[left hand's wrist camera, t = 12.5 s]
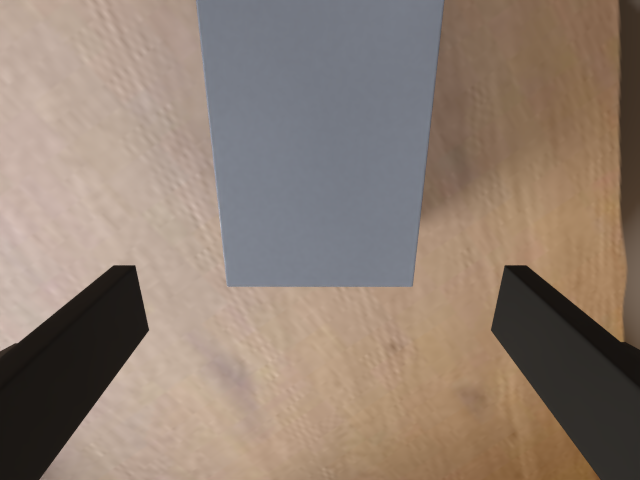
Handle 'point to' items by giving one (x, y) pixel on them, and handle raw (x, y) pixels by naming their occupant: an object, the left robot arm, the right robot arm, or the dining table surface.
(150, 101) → the dining table surface
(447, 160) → the dining table surface
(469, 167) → the dining table surface
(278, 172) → the cabinet
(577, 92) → the dining table surface
